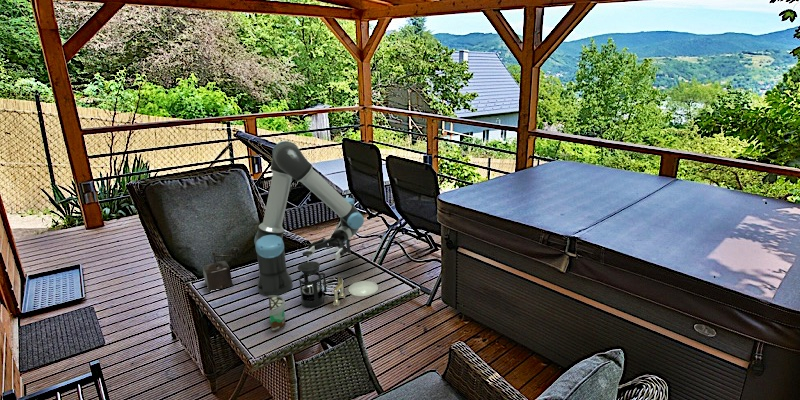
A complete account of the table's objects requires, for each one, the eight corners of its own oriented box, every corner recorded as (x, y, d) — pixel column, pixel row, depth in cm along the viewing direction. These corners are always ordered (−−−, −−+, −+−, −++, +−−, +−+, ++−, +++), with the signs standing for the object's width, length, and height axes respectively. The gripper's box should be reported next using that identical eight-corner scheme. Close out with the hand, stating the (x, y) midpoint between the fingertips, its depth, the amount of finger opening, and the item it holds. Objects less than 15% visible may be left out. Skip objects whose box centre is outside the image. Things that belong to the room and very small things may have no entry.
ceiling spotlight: (333, 305, 186) (332, 290, 184) (338, 289, 199) (337, 275, 197) (342, 305, 186) (341, 290, 184) (347, 289, 199) (345, 275, 197)
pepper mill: (209, 293, 199) (203, 256, 194) (204, 284, 208) (198, 248, 203) (245, 283, 207) (239, 247, 202) (239, 274, 216) (233, 240, 211)
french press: (305, 311, 183) (299, 259, 176) (296, 302, 190) (290, 252, 183) (331, 302, 189) (326, 251, 182) (321, 293, 196) (316, 244, 189)
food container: (289, 331, 170) (286, 308, 167) (272, 334, 168) (268, 311, 165) (287, 314, 181) (284, 292, 178) (271, 317, 179) (268, 295, 176)
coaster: (346, 297, 192) (346, 295, 192) (350, 282, 205) (350, 281, 205) (377, 296, 192) (377, 295, 192) (379, 281, 204) (378, 280, 204)
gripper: (366, 245, 210) (349, 266, 191) (318, 242, 217) (296, 261, 198) (365, 230, 208) (347, 250, 189) (316, 228, 215) (294, 246, 196)
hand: (321, 256), depth 193 cm, fingers open, 13 cm apart
